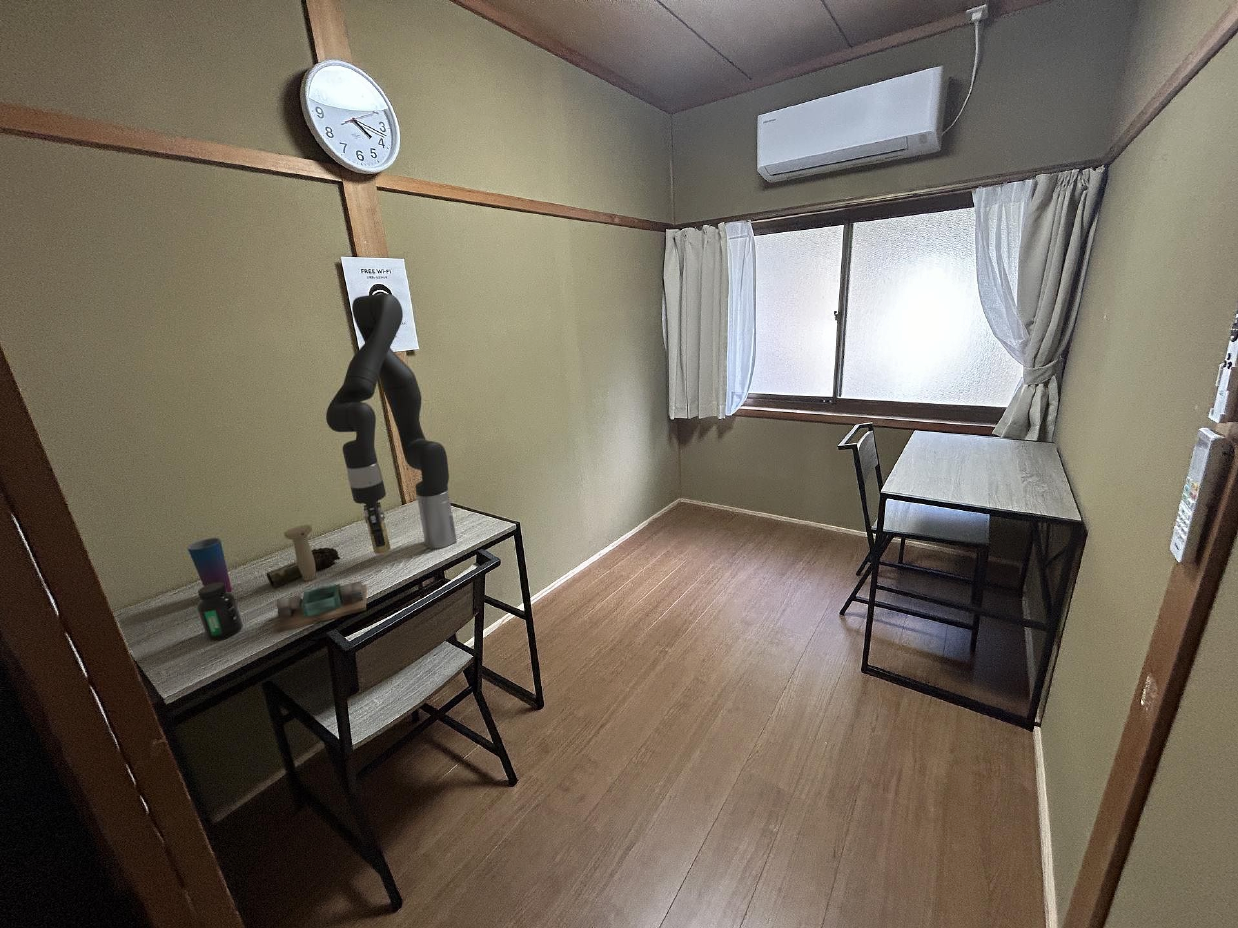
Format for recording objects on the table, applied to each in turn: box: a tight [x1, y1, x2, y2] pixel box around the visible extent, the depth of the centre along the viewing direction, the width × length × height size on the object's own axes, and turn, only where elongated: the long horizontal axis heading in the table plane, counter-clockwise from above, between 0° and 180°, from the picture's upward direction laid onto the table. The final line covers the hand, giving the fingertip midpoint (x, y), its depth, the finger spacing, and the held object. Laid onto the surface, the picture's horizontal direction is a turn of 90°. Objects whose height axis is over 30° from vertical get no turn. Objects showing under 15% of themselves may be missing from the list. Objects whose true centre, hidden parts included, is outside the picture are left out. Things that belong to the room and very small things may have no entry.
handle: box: [283, 524, 317, 582], centre depth 139 cm, size 5×6×15 cm
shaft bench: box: [274, 580, 368, 633], centre depth 125 cm, size 19×12×5 cm, turn 115°
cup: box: [187, 537, 232, 594], centre depth 133 cm, size 7×7×15 cm
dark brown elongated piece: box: [266, 547, 341, 589], centre depth 144 cm, size 18×7×6 cm, turn 140°
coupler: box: [364, 511, 391, 555], centre depth 130 cm, size 5×5×10 cm
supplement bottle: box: [196, 582, 244, 642], centre depth 116 cm, size 7×7×12 cm
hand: (380, 542), depth 131 cm, fingers closed on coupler, 4 cm apart
